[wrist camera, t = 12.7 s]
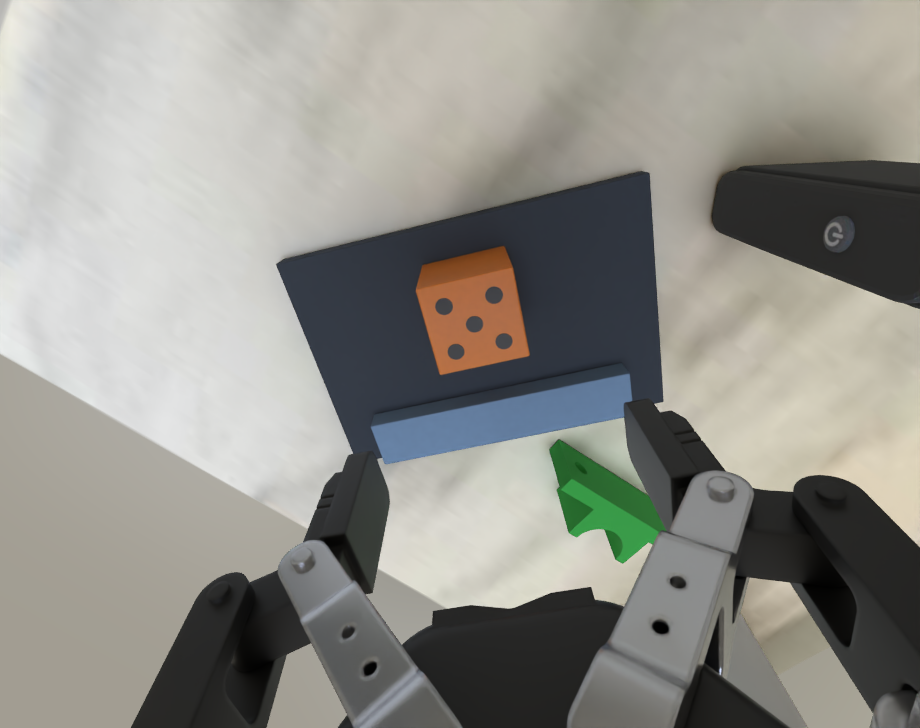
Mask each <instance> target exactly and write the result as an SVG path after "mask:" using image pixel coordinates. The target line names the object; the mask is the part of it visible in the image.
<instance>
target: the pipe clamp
mask: <svg viewBox="0 0 920 728" xmlns="http://www.w3.org/2000/svg"><path fill="white" fill-rule="evenodd" d="M549 450H550V454H551V457H552V461H553V464H554V468H555V471H556V475H557V478H558V482H559V485H560V487H559V488H558V489H557V492H558V496H559V499H560V503H561V507H562V510H563V514H564V517H565V521H566V525H567V528H568V532H569V533H570V534H572V535H573V536H575V537H578V536H579V535H581V534H582V533H584V532H587V531H590V530H594V529H604V530H605V532H606V535H607V538H608V541H609V543H610V546H611V549H612V551H613V554H614V557H615V559H616V560H617V561H619V562H621V563H624V562H626V561H627V560H628V559H629V558H630V557H632V556H633V555H634V554H635V553H636V552H638V551H639V550H640V549H641V548H642V547H643V546H645V545H646V544H647V543H648V542H649V543H651V544H653V543H654V541H655V539H656V537H657V535H658V533H659V532H660V531H661V530H664V531H666V529H665V527H664V525H663V523H662V521H661V519H660V517H659V515H658V513H657V511H656V509H655V507H654V505H653V503H652V501H651V499H650V497H649V496H648V495H646V494H645V493H643V492H641V491H640V490H638V489H637V488H635V487H634V486H632V485H630V484H629V483H627V482H626V481H624V480H622V479H621V478H619V477H618V476H616V475H615V474H613V473H611V472H610V471H608V470H607V469H605V468H603V467H602V466H600V465H599V464H597V463H595V462H594V461H592V460H591V459H589V458H588V457H586V456H584V455H583V454H581V453H580V452H578V451H576V450H575V449H573V448H572V447H570V446H569V445H567V444H565V443H564V442H562V441H561V440H558V441H557V442H556V443H555V444H554V445H553V446H552V447H551V448H550V449H549Z"/></svg>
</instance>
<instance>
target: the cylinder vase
mask: <svg viewBox="0 0 920 728" xmlns="http://www.w3.org/2000/svg"><path fill="white" fill-rule="evenodd" d="M726 680H728V681H729V682H730V683H732V684H733V685H734V686H736V687H737V688H738V689H740V690H741V691H742V692H744V693H745V694H746V695H748V696H749V697H750V698H752V699H753V700H754V701H756V702H757V703H758V704H760V705H761V706H762V707H764V708H765V709H766V710H768V711H769V712H770V713H771V714H773V715H774V716H775V717H777V718H778V719H779V720H781V721H782V722H783V723H785V724H786V725H787V726H789V727H790V728H808V727H807V725H806V723H805V722H804V720H803V718H802V717H801V715H800V713H799V711H798V710H797V708H796V706H795V704H794V703H793V701H792V700H791V698H790V696H789V694H788V693H787V691H786V689H785V687H784V686H783V684H782V682H781V681H780V679H779V677H778V676H777V674H776V672H775V670H774V669H773V667H772V665H771V664H770V662H769V660H768V659H767V657H766V655H765V653H764V652H763V650H762V648H761V647H760V645H759V643H758V641H757V640H756V638H755V636H754V635H753V633H752V631H751V630H750V628H749V626H748V624H747V623H746V621H745V619H744V618H743V616H742V615H741V613H740V616H739V620H738V623H737V627H736V631H735V635H734V640H733V646H732V653H731V660H730V666H729V671H728V675H727V679H726Z"/></svg>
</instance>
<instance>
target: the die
mask: <svg viewBox="0 0 920 728" xmlns="http://www.w3.org/2000/svg"><path fill="white" fill-rule="evenodd" d="M416 294H417V297H418V301H419V304H420V308H421V311H422V315H423V318H424V322H425V325H426V329H427V332H428V336H429V339H430V342H431V346H432V349H433V353H434V356H435V360H436V363H437V367H438V370H439V374H440V375H443V374H448V373H452V372H457V371H462V370H466V369H471V368H476V367H481V366H485V365H490V364H495V363H499V362H504V361H509V360H513V359H518V358H523V357H527V356H529V355H530V353H529V348H528V343H527V337H526V332H525V327H524V322H523V316H522V311H521V306H520V301H519V296H518V290H517V285H516V280H515V275H514V269H513V266H512V264H511V261H510V259H509V256H508V254H507V251H506V249H505V247H504V246H500V247H496V248H492V249H488V250H484V251H479V252H475V253H471V254H467V255H463V256H458V257H454V258H450V259H446V260H442V261H437V262H433V263H429V264H425V265H422V269H421V272H420V276H419V280H418V283H417V287H416Z"/></svg>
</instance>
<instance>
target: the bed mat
mask: <svg viewBox="0 0 920 728" xmlns="http://www.w3.org/2000/svg"><path fill="white" fill-rule="evenodd" d="M500 246H504V247H505V249H506V251H507V254H508V256H509V259H510V261H511V264H512V266H513V269H514V275H515V280H516V285H517V290H518V296H519V301H520V306H521V311H522V316H523V322H524V327H525V332H526V337H527V343H528V348H529V353H530V355H529V356H527V357H523V358H518V359H513V360H509V361H504V362H499V363H495V364H490V365H485V366H481V367H476V368H471V369H466V370H462V371H457V372H452V373H448V374H443V375H440V374H439V370H438V367H437V363H436V360H435V356H434V353H433V349H432V346H431V342H430V339H429V336H428V332H427V329H426V325H425V322H424V318H423V315H422V311H421V308H420V304H419V301H418V297H417V294H416V287H417V283H418V280H419V276H420V272H421V269H422V265H425V264H429V263H433V262H437V261H442V260H446V259H450V258H454V257H458V256H463V255H467V254H471V253H475V252H479V251H484V250H488V249H492V248H496V247H500ZM276 265H277V268H278V270H279V273H280V275H281V278H282V280H283V283H284V285H285V287H286V290H287V292H288V295H289V297H290V300H291V302H292V305H293V307H294V309H295V312H296V314H297V317H298V319H299V322H300V324H301V327H302V329H303V332H304V334H305V336H306V339H307V341H308V344H309V346H310V349H311V351H312V354H313V356H314V358H315V361H316V363H317V366H318V368H319V371H320V373H321V376H322V378H323V380H324V383H325V385H326V388H327V390H328V393H329V395H330V398H331V400H332V402H333V405H334V407H335V410H336V412H337V415H338V417H339V420H340V422H341V425H342V427H343V429H344V432H345V434H346V437H347V439H348V442H349V444H350V447H351V449H352V451H353V454H356V453H361V452H367V451H373V452H374V454H375V456H376V459H378V458H383V461H384V463H385V464H390V463H395V462H400V461H405V460H410V459H415V458H420V457H425V456H430V455H436V454H441V453H446V452H451V451H456V450H461V449H466V448H471V447H476V446H481V445H486V444H491V443H496V442H501V441H507V440H512V439H517V438H522V437H527V436H532V435H537V434H542V433H547V432H552V431H557V430H562V429H567V428H572V427H577V426H583V425H588V424H593V423H598V422H603V421H608V420H613V419H618V418H623V417H624V403H625V402H630V401H635V400H641V399H646V398H650V399H651V400H652V402H653V403H654V404H655V403H660V402H663V387H662V370H661V354H660V338H659V321H658V305H657V288H656V272H655V256H654V239H653V223H652V207H651V190H650V174H649V173H648V172H643V171H640V172H636V173H632V174H628V175H624V176H620V177H616V178H612V179H608V180H604V181H600V182H596V183H592V184H588V185H583V186H579V187H575V188H571V189H567V190H563V191H559V192H555V193H551V194H547V195H543V196H539V197H535V198H531V199H527V200H523V201H519V202H515V203H510V204H506V205H502V206H498V207H494V208H490V209H486V210H482V211H478V212H474V213H470V214H466V215H462V216H458V217H454V218H450V219H446V220H441V221H437V222H433V223H429V224H425V225H421V226H417V227H413V228H409V229H405V230H401V231H397V232H393V233H389V234H385V235H381V236H377V237H372V238H368V239H364V240H360V241H356V242H352V243H348V244H344V245H340V246H336V247H332V248H328V249H324V250H320V251H316V252H312V253H308V254H303V255H299V256H295V257H291V258H287V259H283V260H282V261H280V262H279V263H277V264H276Z"/></svg>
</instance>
